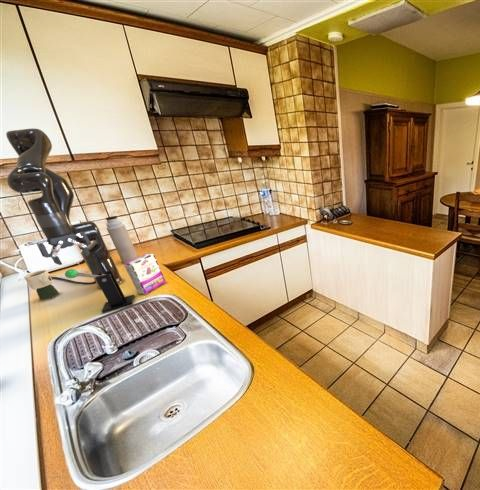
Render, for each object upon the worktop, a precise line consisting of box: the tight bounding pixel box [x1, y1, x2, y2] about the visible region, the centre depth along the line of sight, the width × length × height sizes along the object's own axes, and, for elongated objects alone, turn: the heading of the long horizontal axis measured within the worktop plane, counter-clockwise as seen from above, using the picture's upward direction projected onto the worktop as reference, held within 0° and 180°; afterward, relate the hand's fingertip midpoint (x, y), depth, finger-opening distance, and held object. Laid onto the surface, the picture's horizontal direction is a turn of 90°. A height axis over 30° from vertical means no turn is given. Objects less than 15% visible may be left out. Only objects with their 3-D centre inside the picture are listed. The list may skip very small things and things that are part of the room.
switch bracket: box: [96, 270, 135, 314], centre depth 115 cm, size 10×8×16 cm
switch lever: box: [64, 268, 106, 279], centre depth 110 cm, size 13×4×4 cm, turn 125°
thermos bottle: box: [105, 215, 139, 264], centre depth 158 cm, size 8×8×28 cm
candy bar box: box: [123, 253, 167, 295], centre depth 127 cm, size 11×5×16 cm, turn 168°
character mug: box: [23, 269, 60, 301], centre depth 125 cm, size 11×7×13 cm, turn 63°
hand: (74, 260), depth 112 cm, fingers open, 8 cm apart
